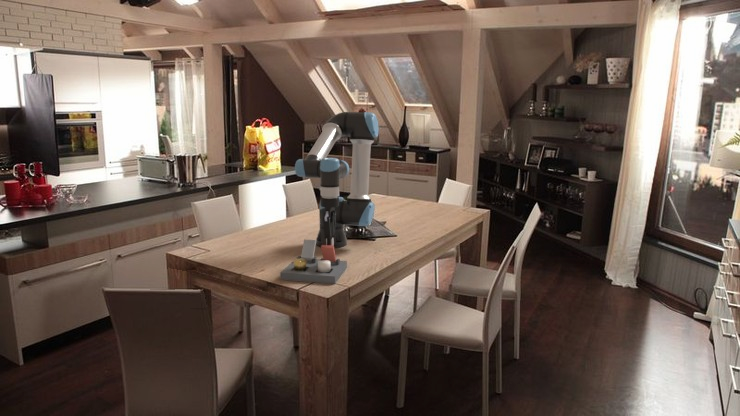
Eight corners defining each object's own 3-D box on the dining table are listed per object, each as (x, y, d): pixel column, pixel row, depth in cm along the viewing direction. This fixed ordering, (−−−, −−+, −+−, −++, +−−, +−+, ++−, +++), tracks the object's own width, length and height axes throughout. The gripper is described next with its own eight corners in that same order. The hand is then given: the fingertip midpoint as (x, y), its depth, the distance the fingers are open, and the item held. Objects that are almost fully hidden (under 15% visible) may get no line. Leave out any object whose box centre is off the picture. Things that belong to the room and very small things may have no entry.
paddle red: (324, 260, 209) (321, 244, 203) (336, 261, 208) (333, 245, 202) (324, 263, 207) (321, 247, 201) (335, 264, 206) (333, 248, 201)
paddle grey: (301, 261, 210) (305, 240, 213) (312, 262, 209) (316, 241, 212) (300, 260, 208) (304, 239, 212) (311, 261, 207) (315, 240, 211)
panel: (297, 264, 215) (296, 253, 214) (347, 267, 212) (347, 256, 211) (280, 279, 196) (280, 267, 195) (335, 283, 192) (335, 271, 191)
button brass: (296, 266, 203) (295, 258, 202) (307, 267, 202) (307, 258, 202) (291, 270, 198) (291, 261, 198) (304, 271, 197) (304, 262, 197)
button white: (319, 268, 201) (319, 259, 201) (331, 268, 201) (331, 260, 200) (316, 272, 197) (316, 263, 196) (328, 272, 196) (328, 264, 195)
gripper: (325, 193, 208) (325, 248, 213) (316, 199, 196) (316, 257, 200) (342, 194, 207) (342, 249, 212) (334, 200, 194) (334, 258, 199)
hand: (329, 253), depth 206 cm, fingers closed
